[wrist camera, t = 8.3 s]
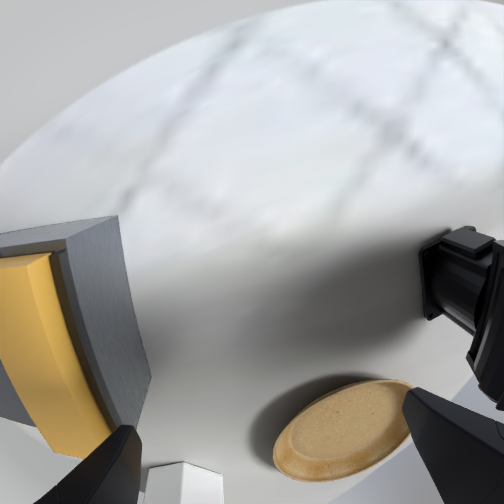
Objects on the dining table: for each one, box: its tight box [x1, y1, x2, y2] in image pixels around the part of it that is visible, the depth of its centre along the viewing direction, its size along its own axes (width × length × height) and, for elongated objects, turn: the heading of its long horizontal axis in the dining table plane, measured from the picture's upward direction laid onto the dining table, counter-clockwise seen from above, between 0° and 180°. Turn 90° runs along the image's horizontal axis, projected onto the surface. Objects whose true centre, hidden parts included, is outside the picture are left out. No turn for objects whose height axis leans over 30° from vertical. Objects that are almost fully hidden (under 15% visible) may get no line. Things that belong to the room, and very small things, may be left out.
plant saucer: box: [272, 379, 415, 482], centre depth 23 cm, size 15×15×3 cm
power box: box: [0, 215, 151, 433], centre depth 15 cm, size 13×12×8 cm
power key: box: [0, 253, 112, 459], centre depth 11 cm, size 4×11×2 cm, turn 4°
